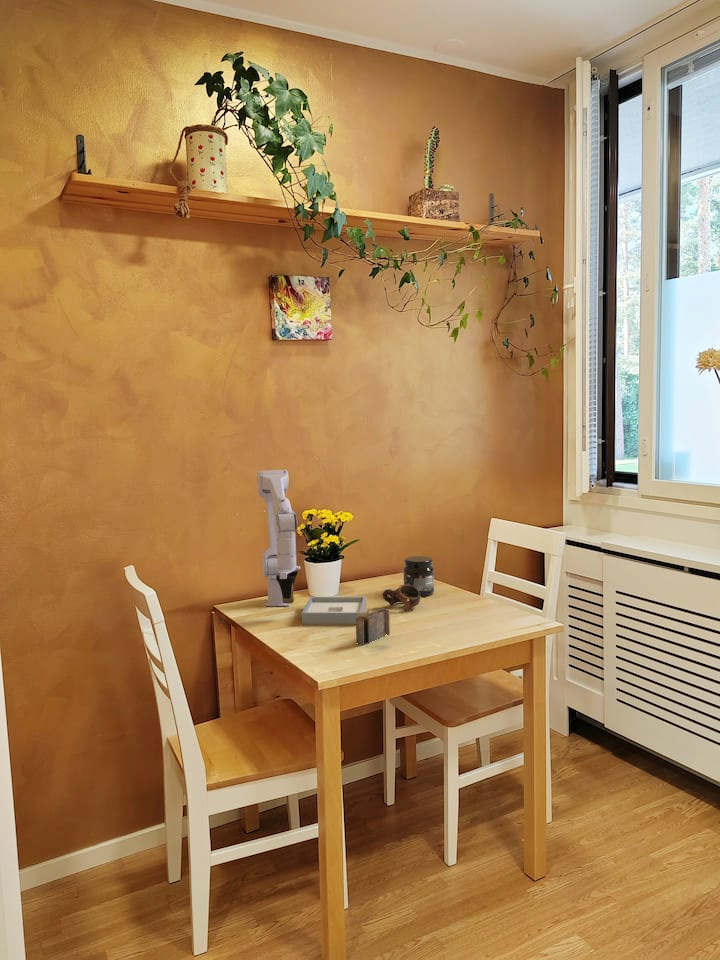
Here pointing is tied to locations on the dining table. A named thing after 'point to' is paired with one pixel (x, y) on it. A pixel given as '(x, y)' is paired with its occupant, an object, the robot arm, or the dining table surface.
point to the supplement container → (419, 575)
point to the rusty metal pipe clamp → (402, 596)
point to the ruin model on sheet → (372, 625)
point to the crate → (333, 610)
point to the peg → (290, 598)
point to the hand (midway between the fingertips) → (287, 596)
